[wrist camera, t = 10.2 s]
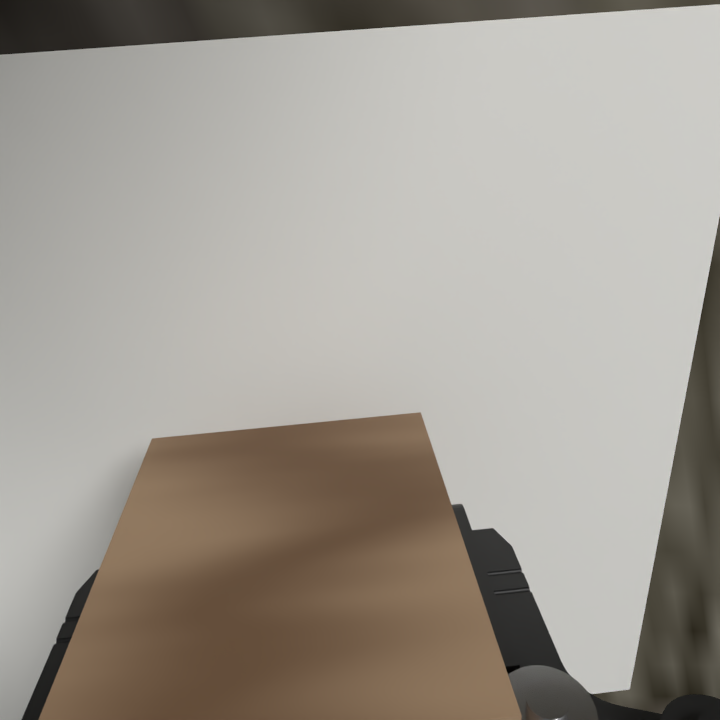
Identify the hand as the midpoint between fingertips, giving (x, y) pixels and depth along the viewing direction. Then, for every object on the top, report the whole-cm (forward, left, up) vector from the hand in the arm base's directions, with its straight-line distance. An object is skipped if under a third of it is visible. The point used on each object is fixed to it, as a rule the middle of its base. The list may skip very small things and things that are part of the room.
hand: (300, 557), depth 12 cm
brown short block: (0, 0, -1) cm, 1 cm away
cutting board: (0, 0, -4) cm, 4 cm away
